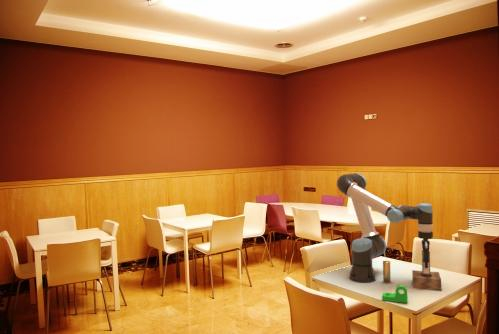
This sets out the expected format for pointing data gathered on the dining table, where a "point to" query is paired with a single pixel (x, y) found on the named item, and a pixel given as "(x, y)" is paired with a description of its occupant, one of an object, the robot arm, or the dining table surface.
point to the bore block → (426, 281)
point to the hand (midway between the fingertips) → (426, 272)
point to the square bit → (423, 264)
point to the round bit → (386, 272)
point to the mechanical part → (396, 295)
